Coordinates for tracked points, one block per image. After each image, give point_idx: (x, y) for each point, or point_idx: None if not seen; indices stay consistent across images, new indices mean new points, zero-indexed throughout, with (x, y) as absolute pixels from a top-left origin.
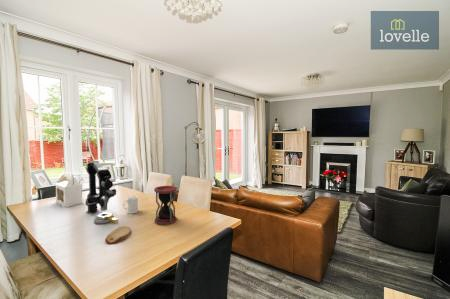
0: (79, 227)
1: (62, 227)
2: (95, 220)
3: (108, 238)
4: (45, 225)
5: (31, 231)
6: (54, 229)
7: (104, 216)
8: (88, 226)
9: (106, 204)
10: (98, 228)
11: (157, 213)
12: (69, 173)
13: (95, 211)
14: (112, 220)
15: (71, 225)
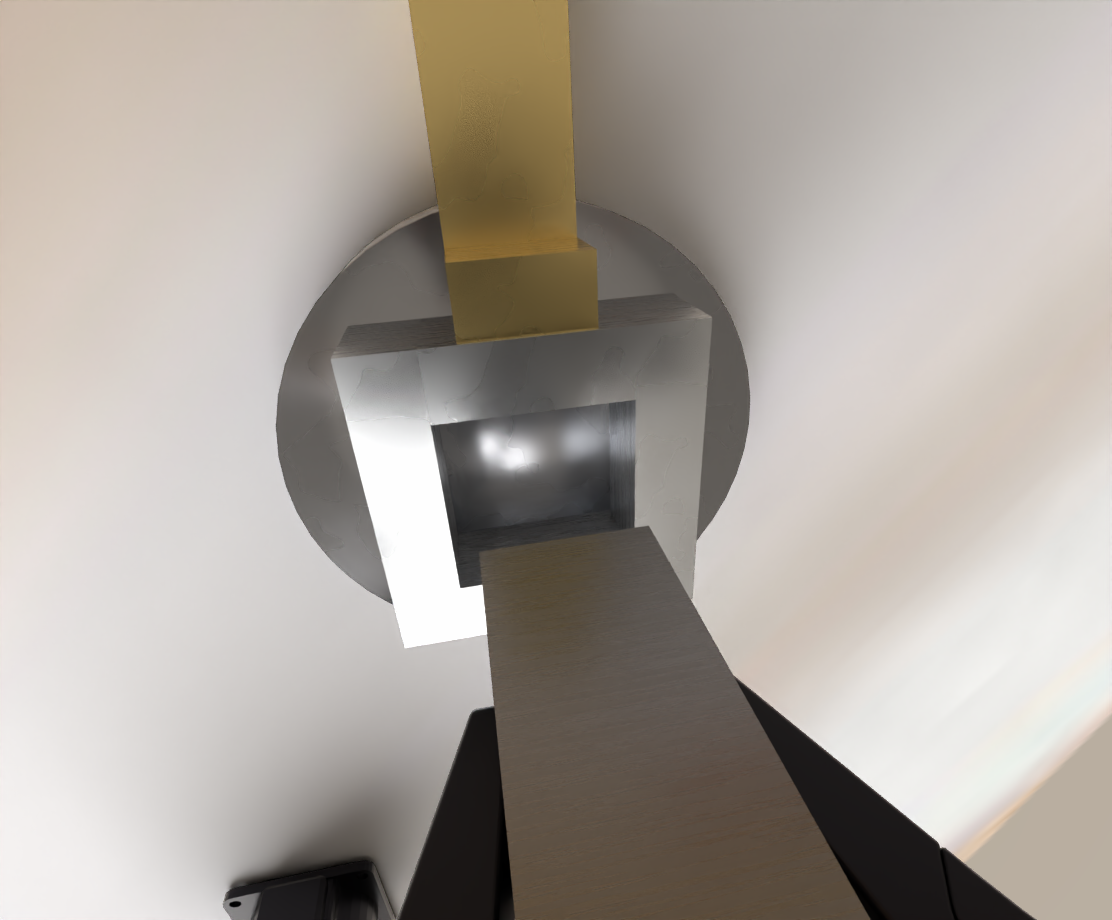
0: (897, 525)
1: (914, 694)
2: (712, 490)
3: None
4: None
5: (1020, 803)
6: (974, 705)
7: (647, 371)
8: (843, 438)
9: (558, 757)
10: (915, 144)
11: None
12: None
13: (300, 880)
14: (562, 65)
15: (842, 672)
